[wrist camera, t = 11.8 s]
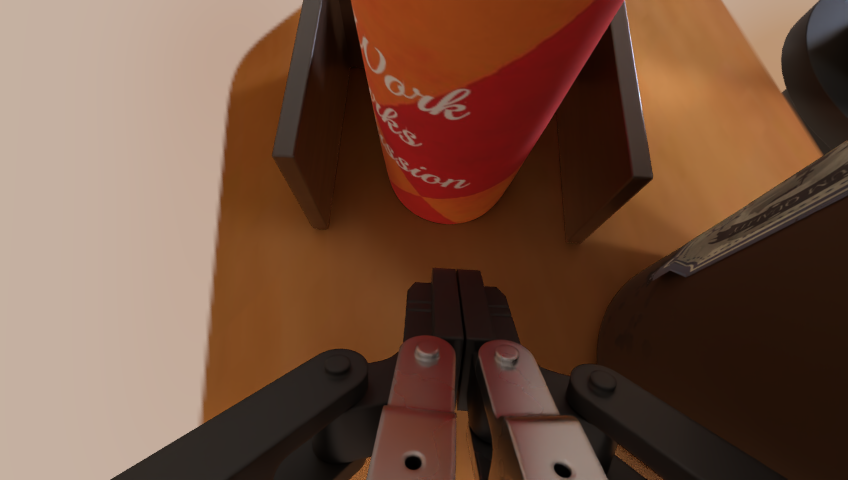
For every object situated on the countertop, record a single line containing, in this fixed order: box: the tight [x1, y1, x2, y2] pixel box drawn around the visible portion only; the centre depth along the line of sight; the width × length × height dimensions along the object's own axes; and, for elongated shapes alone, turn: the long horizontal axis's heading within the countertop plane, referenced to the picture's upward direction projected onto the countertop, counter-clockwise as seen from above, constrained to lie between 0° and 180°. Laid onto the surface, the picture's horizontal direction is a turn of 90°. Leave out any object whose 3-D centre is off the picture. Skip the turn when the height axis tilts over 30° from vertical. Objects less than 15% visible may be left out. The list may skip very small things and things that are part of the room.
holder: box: [272, 0, 653, 244], centre depth 18 cm, size 12×10×6 cm
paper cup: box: [351, 0, 624, 224], centre depth 13 cm, size 8×8×14 cm
